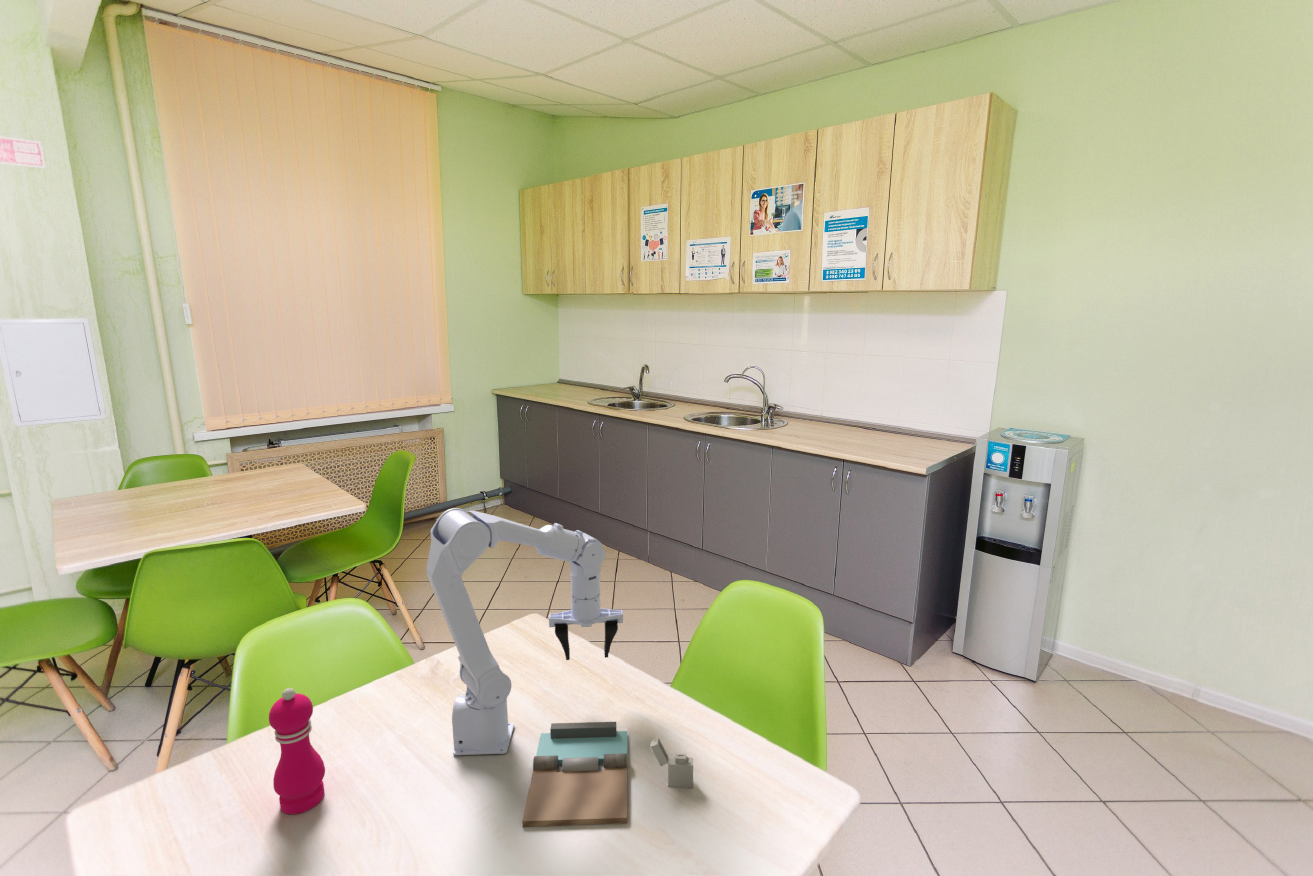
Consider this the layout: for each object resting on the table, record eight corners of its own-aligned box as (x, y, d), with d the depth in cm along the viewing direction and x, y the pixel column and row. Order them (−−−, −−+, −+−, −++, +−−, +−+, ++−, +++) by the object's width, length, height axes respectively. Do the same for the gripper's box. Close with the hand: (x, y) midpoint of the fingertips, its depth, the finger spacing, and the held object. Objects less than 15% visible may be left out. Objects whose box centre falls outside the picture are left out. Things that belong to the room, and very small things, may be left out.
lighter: (693, 780, 105) (693, 738, 103) (692, 788, 103) (693, 745, 102) (651, 778, 105) (651, 736, 104) (650, 785, 104) (650, 743, 102)
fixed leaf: (522, 826, 95) (522, 813, 95) (535, 765, 108) (534, 753, 108) (627, 823, 96) (626, 810, 96) (627, 762, 109) (627, 750, 108)
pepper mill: (275, 824, 96) (258, 708, 92) (278, 792, 102) (262, 683, 98) (327, 807, 99) (313, 695, 95) (327, 777, 105) (314, 671, 101)
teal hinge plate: (532, 778, 105) (532, 762, 105) (541, 738, 115) (540, 723, 115) (627, 775, 106) (627, 759, 105) (627, 735, 116) (627, 721, 115)
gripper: (547, 605, 118) (549, 669, 120) (623, 600, 119) (624, 664, 122) (549, 588, 124) (551, 650, 127) (621, 584, 126) (622, 645, 129)
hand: (587, 656), depth 125 cm, fingers open, 7 cm apart
